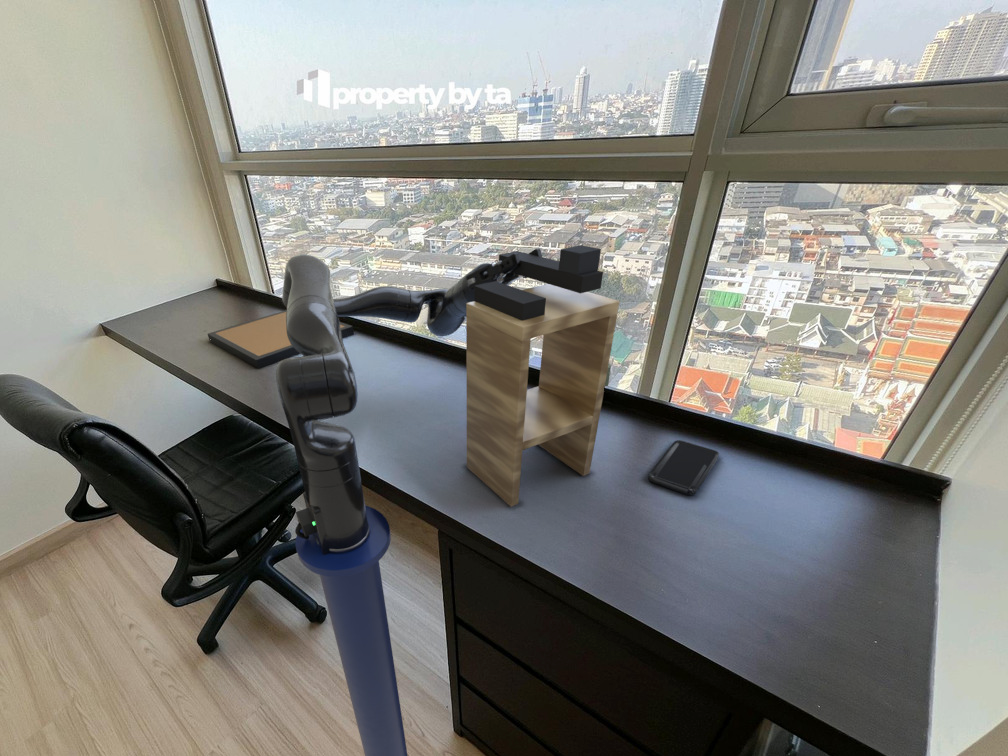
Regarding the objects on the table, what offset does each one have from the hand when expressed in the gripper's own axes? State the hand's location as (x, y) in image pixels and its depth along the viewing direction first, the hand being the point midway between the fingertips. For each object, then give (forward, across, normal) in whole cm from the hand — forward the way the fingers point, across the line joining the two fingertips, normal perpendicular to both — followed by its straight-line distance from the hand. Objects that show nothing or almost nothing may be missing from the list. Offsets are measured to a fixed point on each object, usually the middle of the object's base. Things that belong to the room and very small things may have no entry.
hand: (528, 256), depth 80 cm
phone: (+3, -19, -44) cm, 48 cm away
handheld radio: (-23, -19, -29) cm, 42 cm away
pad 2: (+3, 0, -4) cm, 5 cm away
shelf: (-10, +5, -36) cm, 38 cm away
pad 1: (+5, +10, -8) cm, 14 cm away
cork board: (-99, +26, +15) cm, 104 cm away
